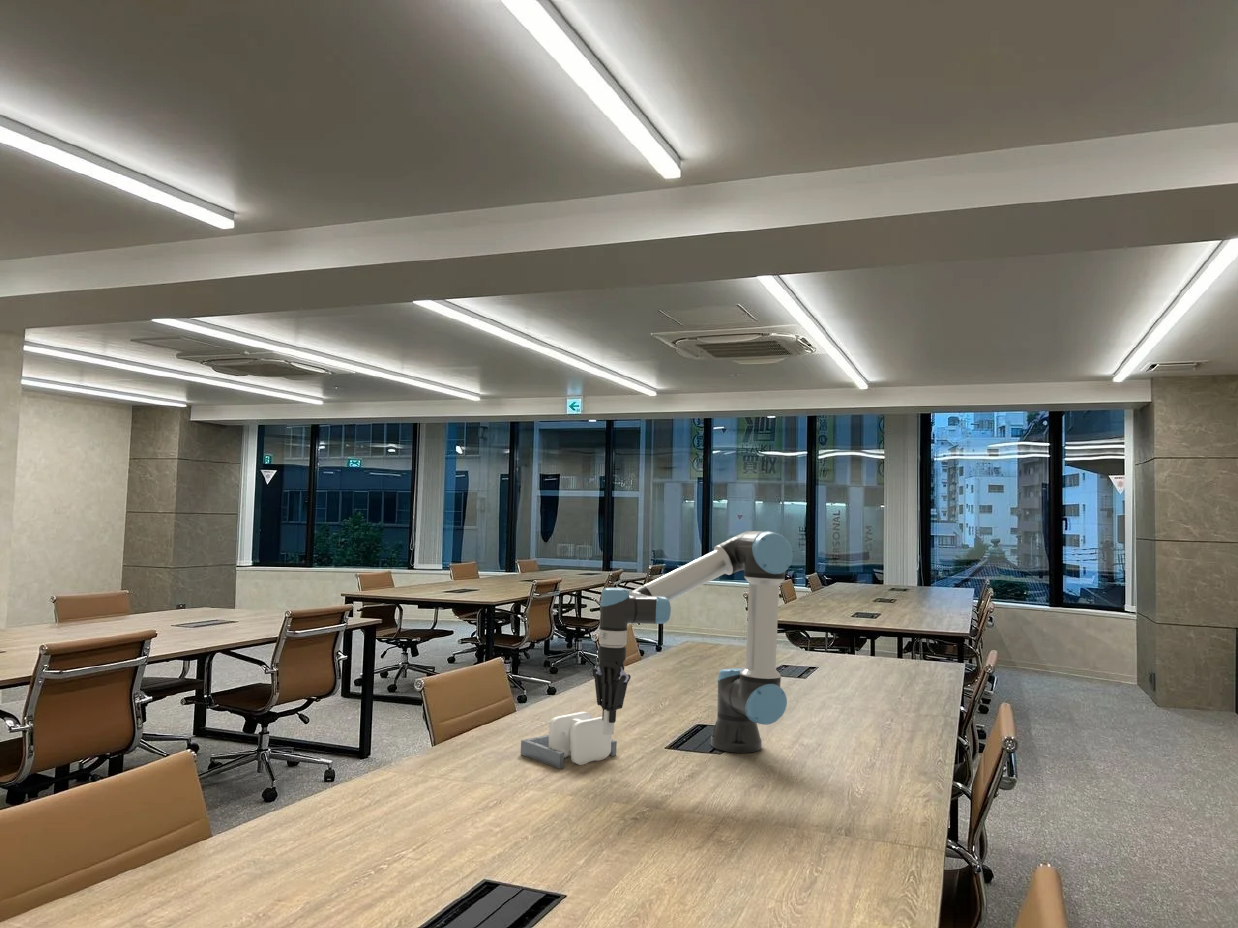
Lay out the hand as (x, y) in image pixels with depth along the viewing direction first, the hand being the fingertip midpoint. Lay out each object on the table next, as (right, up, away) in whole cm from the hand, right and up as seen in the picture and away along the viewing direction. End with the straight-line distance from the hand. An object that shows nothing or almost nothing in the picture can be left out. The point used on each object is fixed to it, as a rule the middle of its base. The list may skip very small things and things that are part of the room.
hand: (608, 733), depth 225 cm
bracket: (-11, -10, +11) cm, 19 cm away
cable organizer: (-8, -10, +8) cm, 15 cm away
